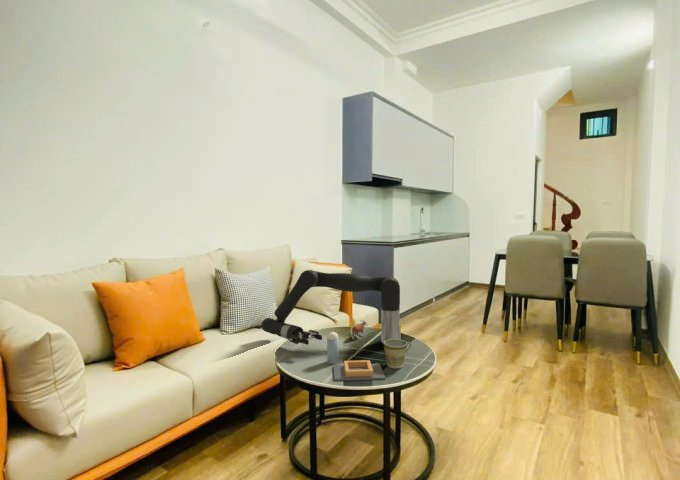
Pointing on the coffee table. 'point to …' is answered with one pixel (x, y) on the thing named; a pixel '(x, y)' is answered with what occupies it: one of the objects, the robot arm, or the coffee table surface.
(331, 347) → the pale grey cylinder
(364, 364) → the jig
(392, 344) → the ceramic cup
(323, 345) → the coffee table surface
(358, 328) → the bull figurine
